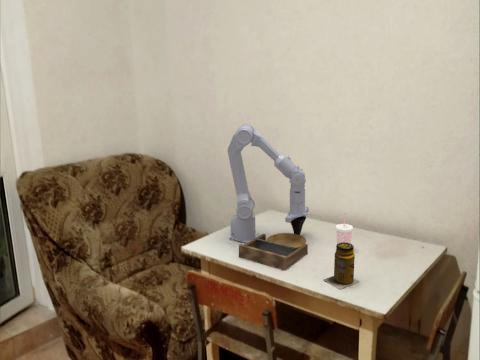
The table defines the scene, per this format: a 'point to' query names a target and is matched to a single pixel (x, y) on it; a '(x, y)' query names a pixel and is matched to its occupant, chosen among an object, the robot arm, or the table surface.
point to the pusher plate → (274, 247)
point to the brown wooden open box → (270, 254)
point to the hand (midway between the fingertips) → (297, 234)
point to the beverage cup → (344, 232)
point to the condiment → (343, 266)
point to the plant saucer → (288, 239)
